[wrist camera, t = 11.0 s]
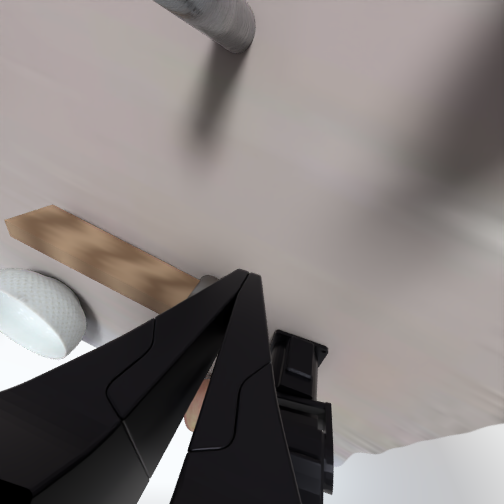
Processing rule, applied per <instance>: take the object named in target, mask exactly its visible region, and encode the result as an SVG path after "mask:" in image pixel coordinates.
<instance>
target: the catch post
mask: <svg viewBox="0 0 504 504" xmlns="http://www.w3.org/2000/svg"><path fill="white" fill-rule="evenodd" d="M153 1H155V2H156V3H158V4H159V5H161V6H162V7H164V8H165V9H167V10H168V11H170V12H171V13H173V14H174V15H176V16H177V17H179V18H180V19H182V20H183V21H185V22H186V23H188V24H189V25H191V26H192V27H194V28H195V29H197V30H198V31H200V32H201V33H203V34H204V35H206V36H207V37H209V38H210V39H212V40H213V41H215V42H216V43H218V44H219V45H221V46H222V47H224V48H225V49H227V50H228V51H230V52H232V53H241V52H243V51H245V50H246V49H247V48H248V47H249V45H250V44H251V42H252V40H253V37H254V33H255V18H254V14H253V11H252V9H251V7H250V6H249V4H248V3H247V2H246V0H153Z"/></svg>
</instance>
